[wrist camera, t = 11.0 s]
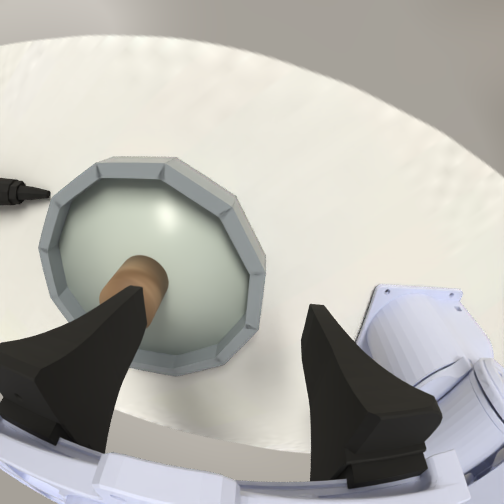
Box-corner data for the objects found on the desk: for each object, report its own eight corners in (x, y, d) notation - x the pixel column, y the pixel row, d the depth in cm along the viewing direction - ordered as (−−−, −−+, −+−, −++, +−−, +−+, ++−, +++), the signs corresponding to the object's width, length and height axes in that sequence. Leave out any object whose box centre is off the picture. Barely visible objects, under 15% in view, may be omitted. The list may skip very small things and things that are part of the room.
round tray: (276, 164, 19) (278, 170, 17) (251, 365, 27) (250, 385, 24) (46, 159, 19) (27, 166, 16) (79, 336, 26) (69, 352, 24)
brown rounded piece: (174, 266, 21) (157, 296, 18) (162, 306, 23) (147, 339, 19) (125, 247, 21) (101, 273, 17) (118, 289, 23) (97, 318, 19)
